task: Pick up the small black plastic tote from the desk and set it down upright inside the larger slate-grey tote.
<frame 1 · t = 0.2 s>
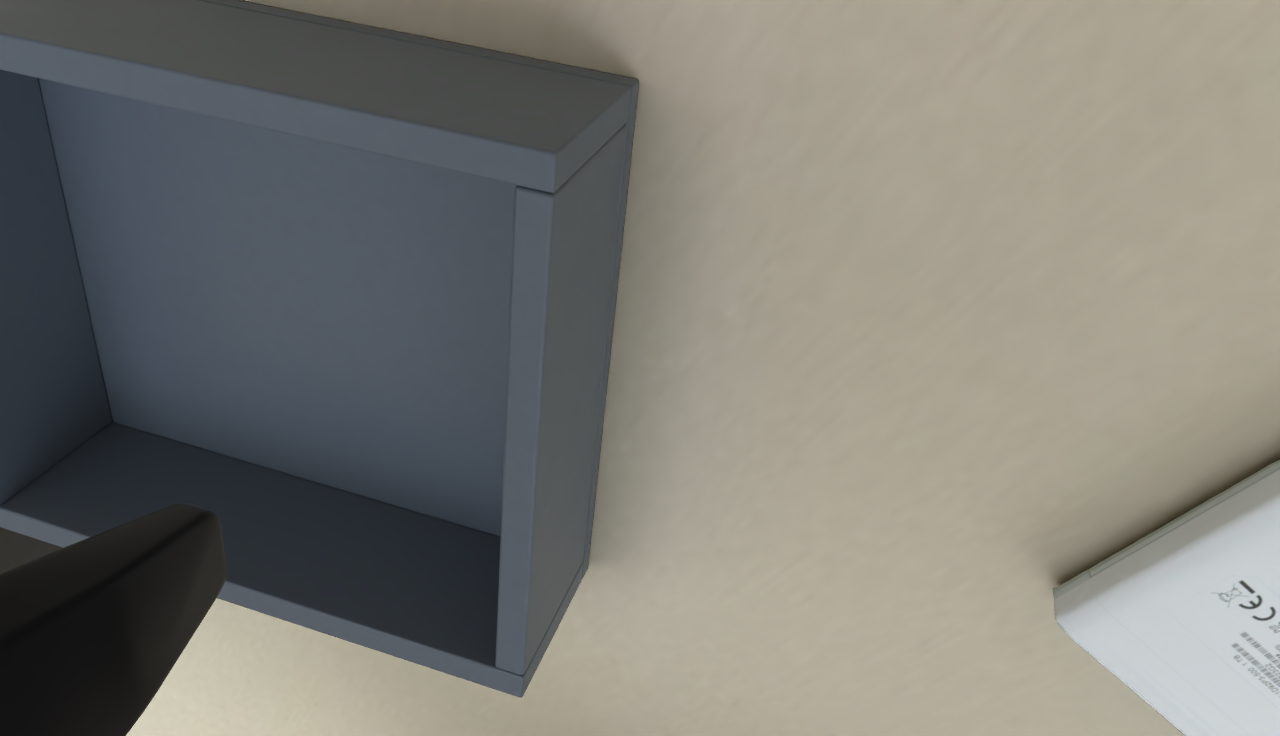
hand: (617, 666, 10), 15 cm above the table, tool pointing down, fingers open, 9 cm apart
grey bin: (322, 286, 28), on the table
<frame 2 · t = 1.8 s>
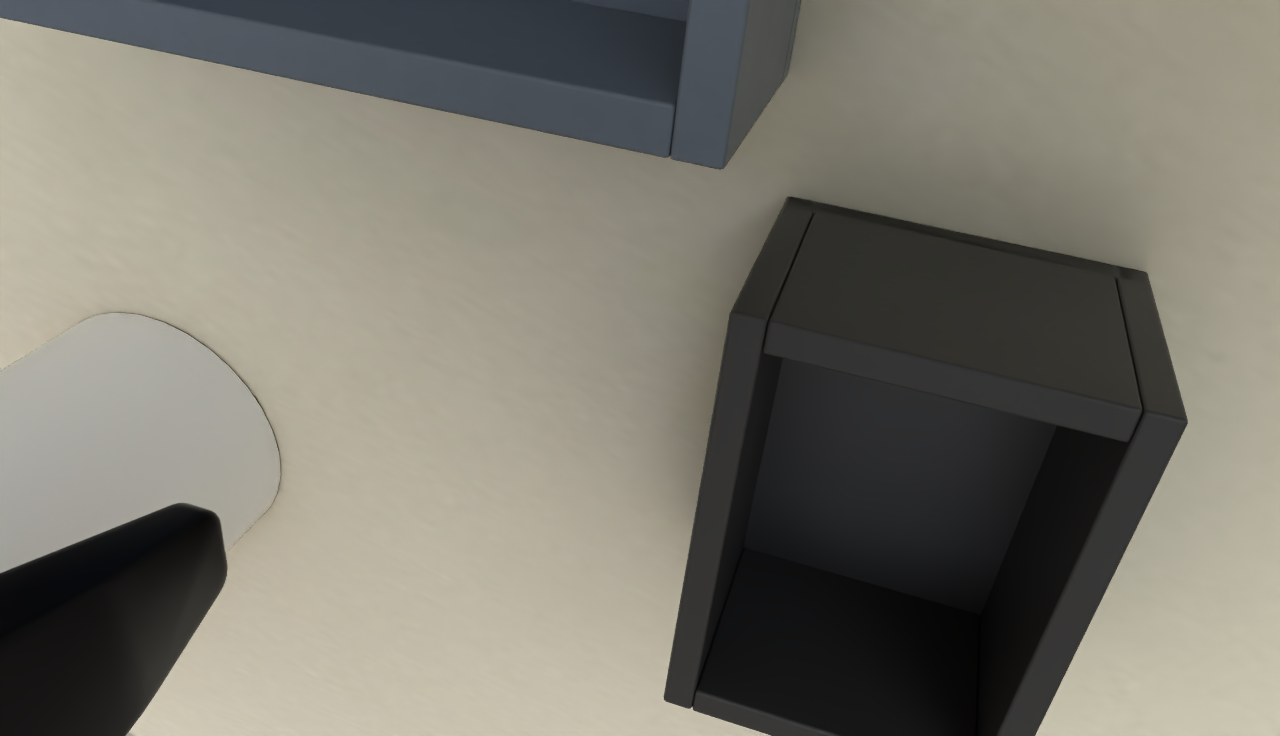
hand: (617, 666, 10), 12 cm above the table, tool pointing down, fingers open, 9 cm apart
black bin: (903, 426, 21), on the table
cylindrical container: (172, 423, 28), on the table
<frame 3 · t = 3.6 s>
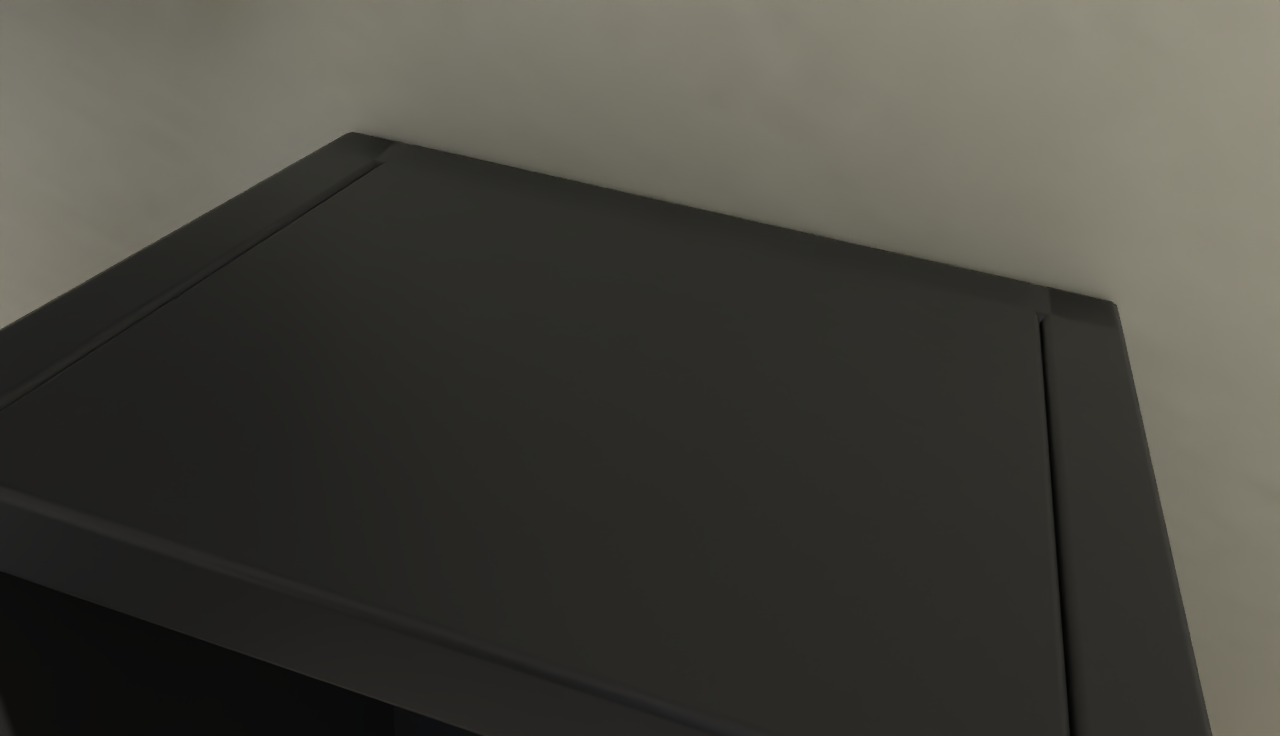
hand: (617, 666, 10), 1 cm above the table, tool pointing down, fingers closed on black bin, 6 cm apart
black bin: (645, 595, 11), on the table, touching gripper
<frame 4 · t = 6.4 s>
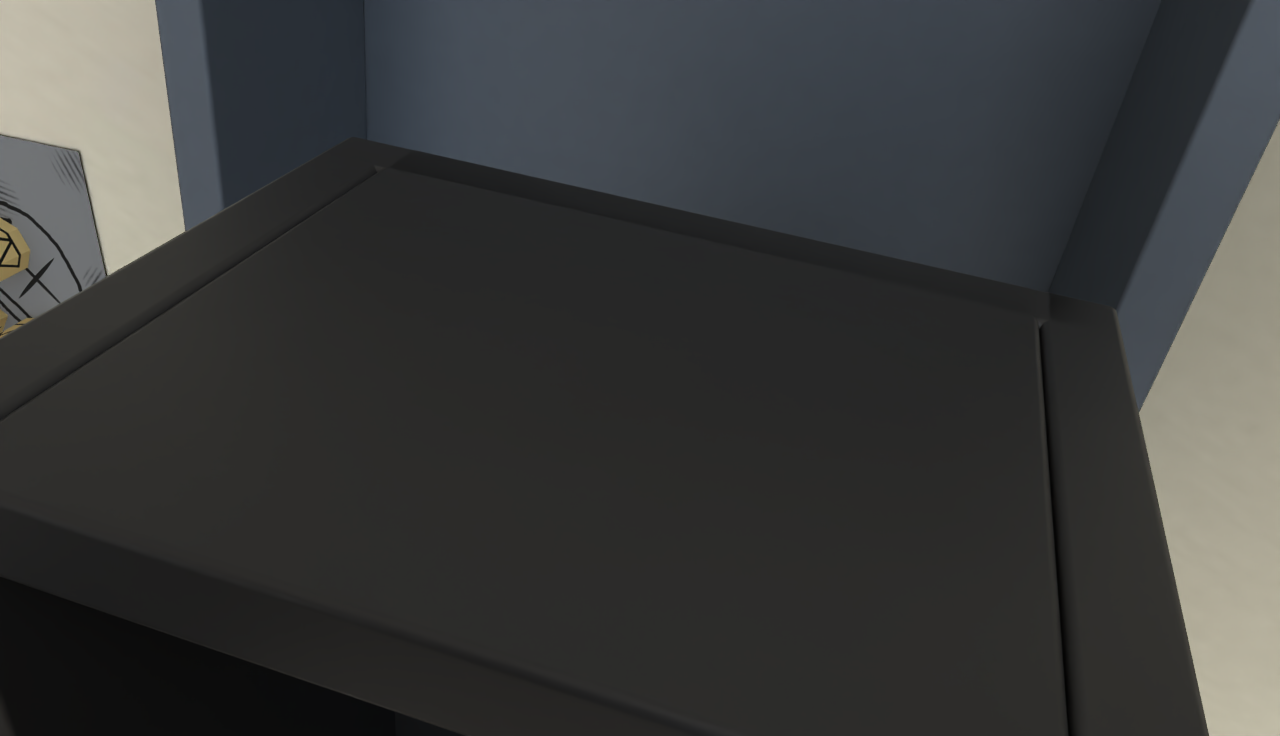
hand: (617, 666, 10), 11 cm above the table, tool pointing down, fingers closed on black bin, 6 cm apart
black bin: (645, 598, 11), point 10 cm above the table, touching gripper
grey bin: (715, 66, 18), on the table
when the fingers open (2 cm above the table, at t = 9.5 s): black bin stays where it is, resting on grey bin.
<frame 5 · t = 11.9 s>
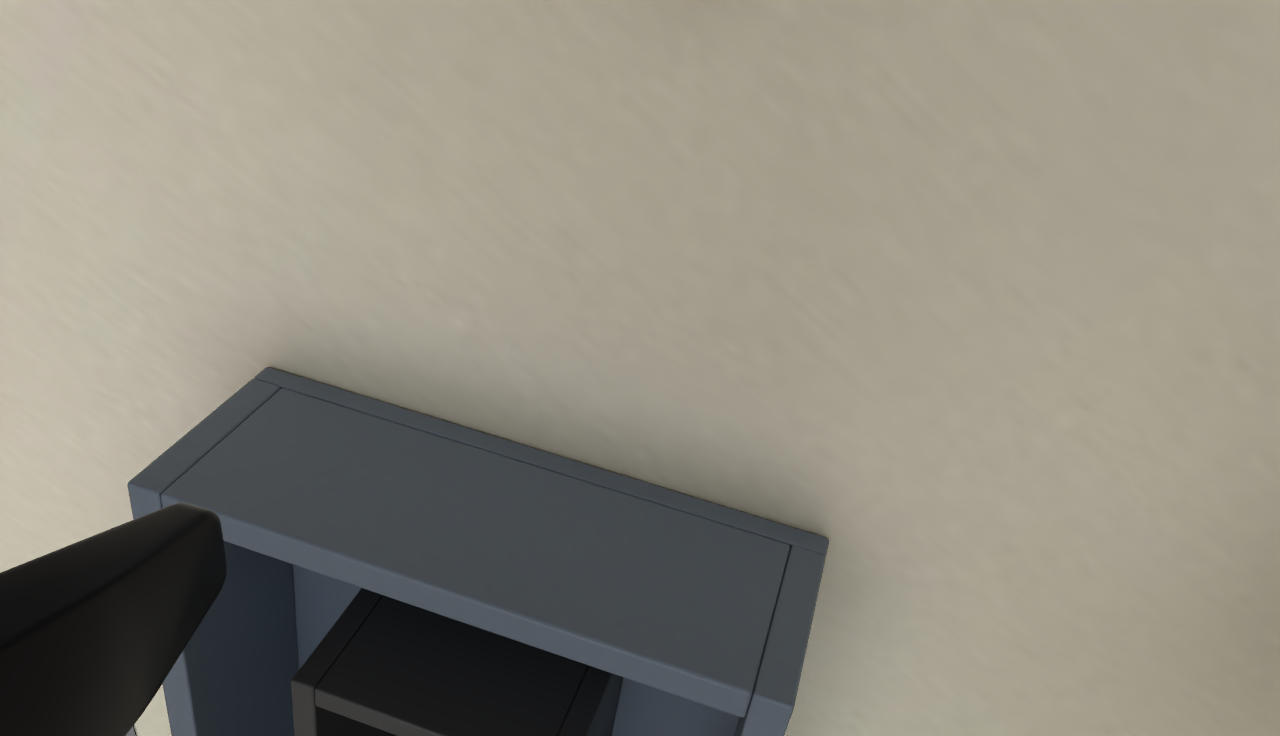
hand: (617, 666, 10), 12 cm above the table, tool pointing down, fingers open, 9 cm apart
black bin: (502, 691, 29), point 1 cm above the table, touching grey bin
grey bin: (510, 674, 29), on the table
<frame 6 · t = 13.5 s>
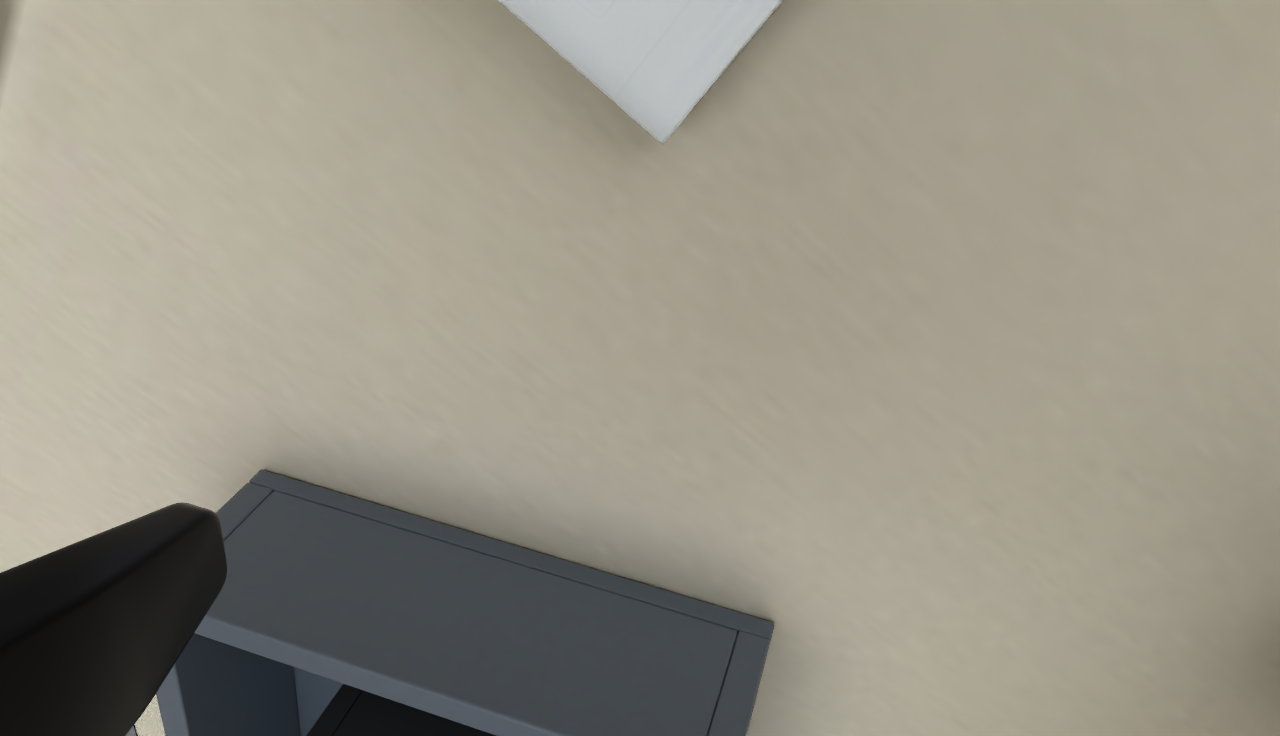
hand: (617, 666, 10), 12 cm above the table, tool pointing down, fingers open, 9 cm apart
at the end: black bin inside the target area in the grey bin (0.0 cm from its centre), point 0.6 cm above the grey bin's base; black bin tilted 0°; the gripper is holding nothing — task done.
